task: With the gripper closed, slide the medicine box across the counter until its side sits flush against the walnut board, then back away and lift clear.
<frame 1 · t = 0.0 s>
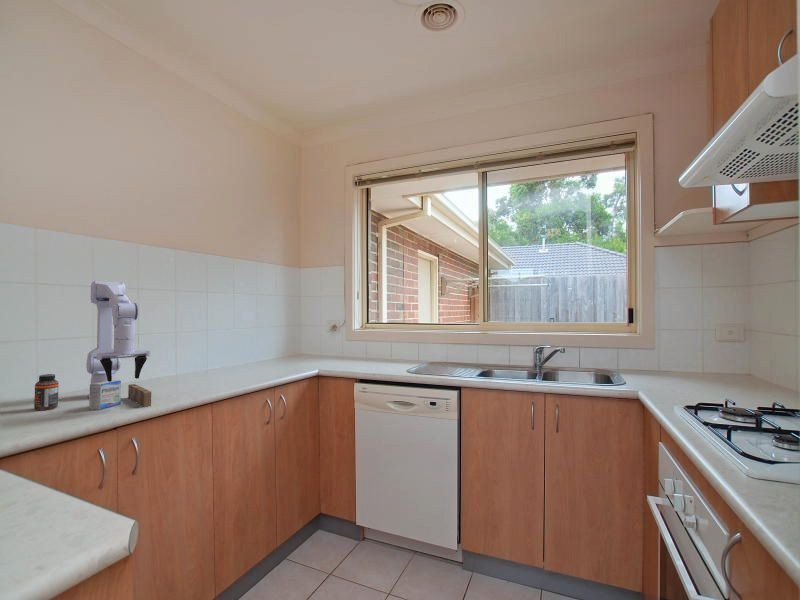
hand: (123, 379, 131), 10 cm above the table, fingers open, 7 cm apart
supplement bottle: (46, 409, 132), on the table
walnut board: (139, 401, 142), on the table
medicine box: (105, 407, 135), on the table
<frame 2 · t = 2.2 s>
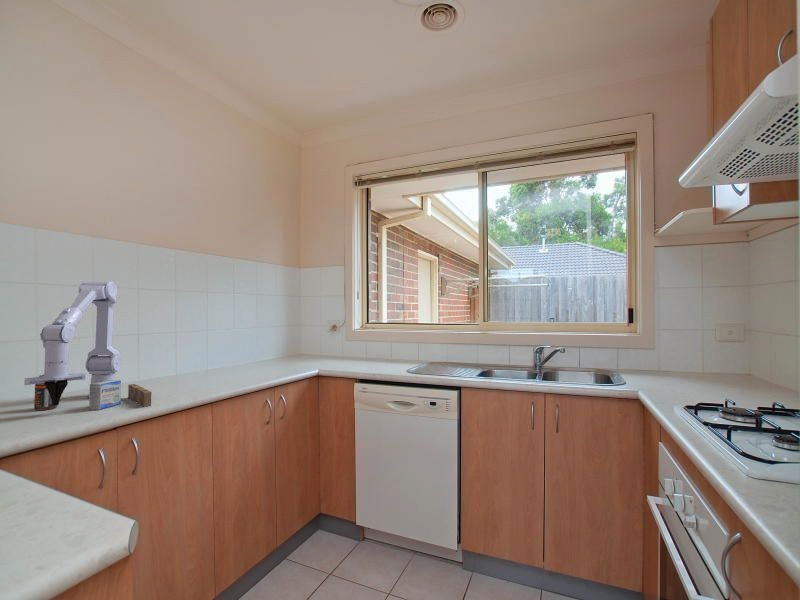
hand: (55, 404, 125), 3 cm above the table, fingers closed
nothing on the table moved.
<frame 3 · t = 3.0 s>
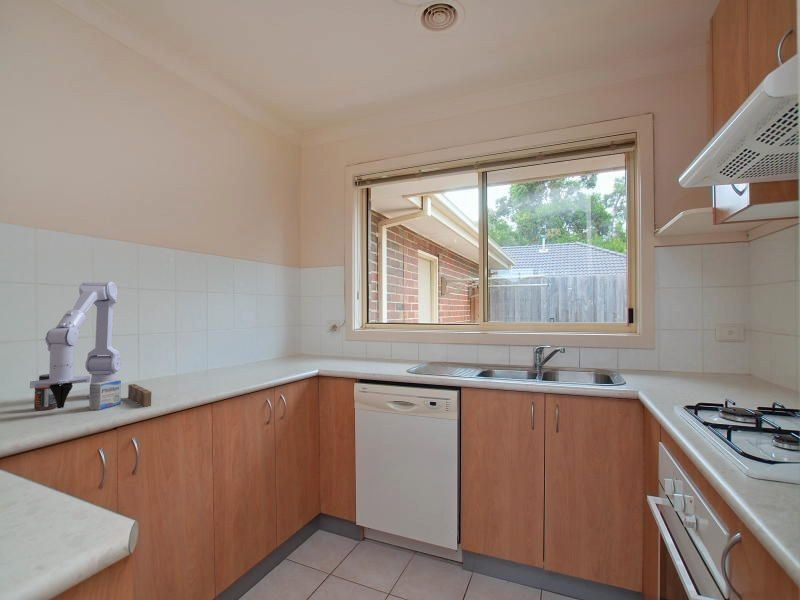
hand: (60, 407, 126), 2 cm above the table, fingers closed
nothing on the table moved.
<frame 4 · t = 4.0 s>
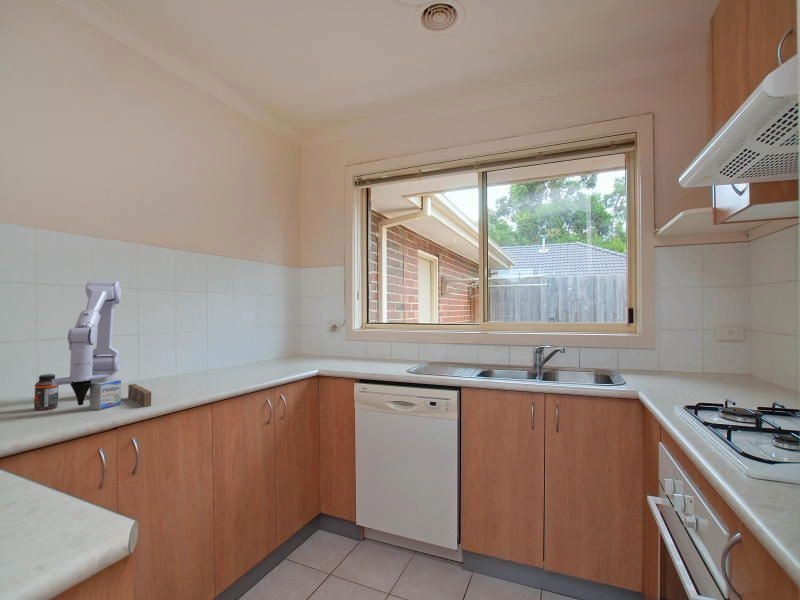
hand: (80, 404, 130), 2 cm above the table, fingers closed
medicine box: (105, 407, 135), on the table, touching gripper
everything else where it was.
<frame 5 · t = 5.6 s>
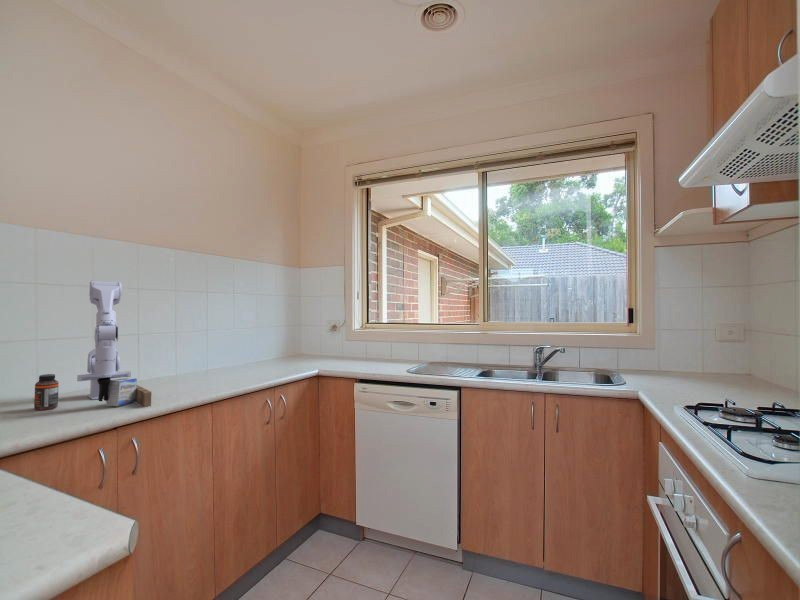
hand: (104, 400, 134), 2 cm above the table, fingers closed, pressing on medicine box
medicine box: (120, 404, 138), on the table, touching gripper, walnut board
everything else where it was.
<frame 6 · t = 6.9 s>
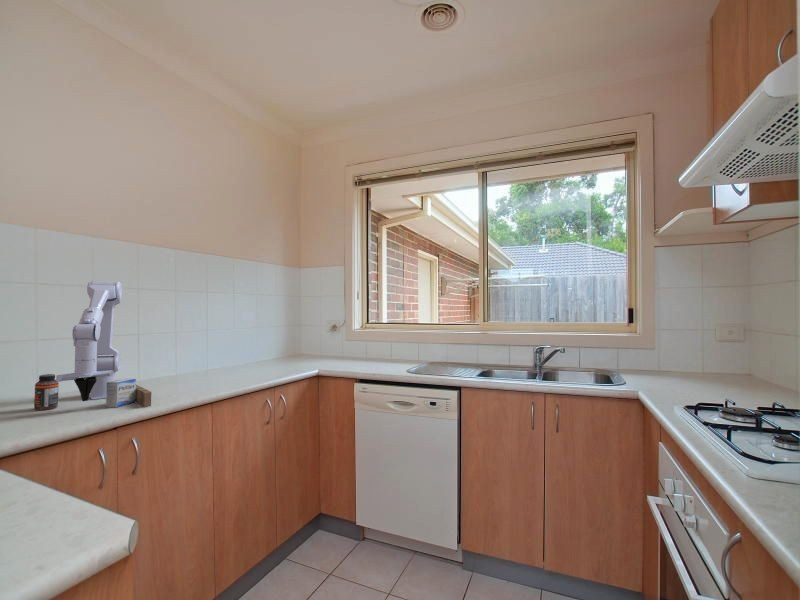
hand: (84, 400, 131), 3 cm above the table, fingers closed
medicine box: (121, 405, 138), on the table
everything else where it was.
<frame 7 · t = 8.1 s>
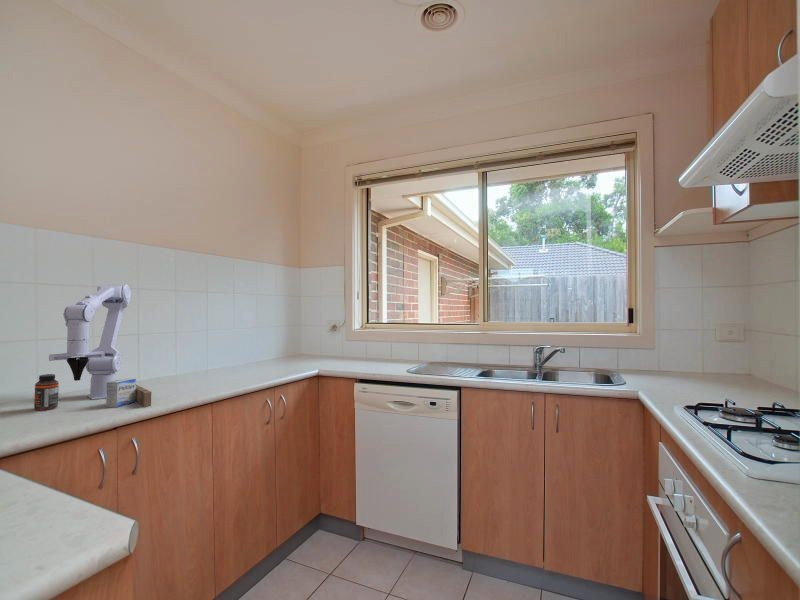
hand: (77, 380, 133), 9 cm above the table, fingers closed
nothing on the table moved.
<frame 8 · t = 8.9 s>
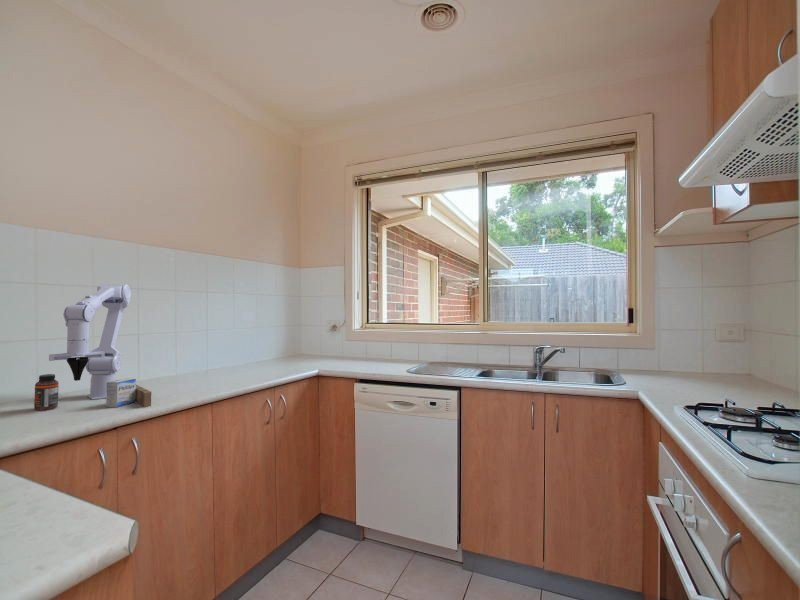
hand: (77, 380, 133), 9 cm above the table, fingers closed
nothing on the table moved.
at the end: medicine box inside the target area on the table beside the walnut board (0.2 cm from its centre), on the table; medicine box tilted 0° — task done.
